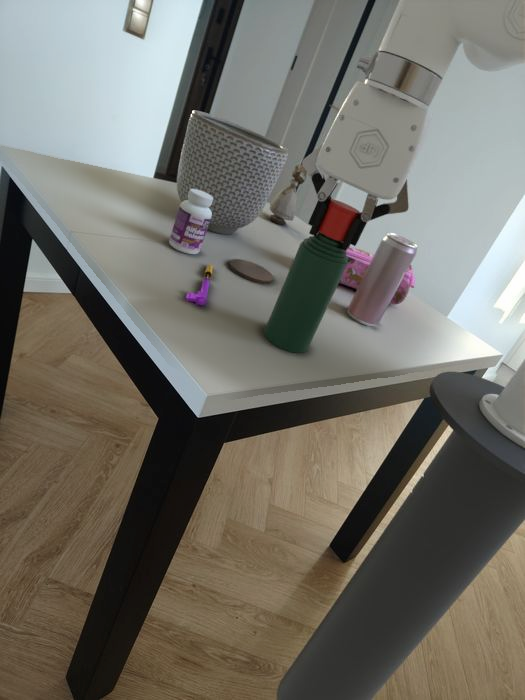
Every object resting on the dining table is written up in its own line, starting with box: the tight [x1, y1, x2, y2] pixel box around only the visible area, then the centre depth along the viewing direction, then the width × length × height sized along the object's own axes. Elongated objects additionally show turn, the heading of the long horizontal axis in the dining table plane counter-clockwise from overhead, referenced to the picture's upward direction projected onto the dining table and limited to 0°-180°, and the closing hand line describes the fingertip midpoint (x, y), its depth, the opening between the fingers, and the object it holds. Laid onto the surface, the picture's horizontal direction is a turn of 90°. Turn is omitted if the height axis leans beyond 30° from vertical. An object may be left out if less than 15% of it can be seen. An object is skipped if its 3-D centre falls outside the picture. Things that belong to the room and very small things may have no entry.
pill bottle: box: [168, 189, 213, 255], centre depth 83 cm, size 5×5×10 cm
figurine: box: [269, 163, 308, 226], centre depth 127 cm, size 8×7×15 cm
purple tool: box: [185, 264, 214, 307], centre depth 74 cm, size 3×1×16 cm
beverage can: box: [347, 231, 419, 327], centre depth 86 cm, size 6×6×15 cm
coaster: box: [229, 258, 275, 285], centre depth 87 cm, size 8×8×1 cm
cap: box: [318, 198, 361, 242], centre depth 62 cm, size 4×4×4 cm
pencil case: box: [317, 231, 416, 305], centre depth 100 cm, size 21×9×9 cm, turn 89°
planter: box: [176, 109, 290, 235], centre depth 100 cm, size 20×20×19 cm
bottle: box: [263, 232, 348, 354], centre depth 65 cm, size 6×6×18 cm
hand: (329, 239), depth 63 cm, fingers closed on cap, 3 cm apart
